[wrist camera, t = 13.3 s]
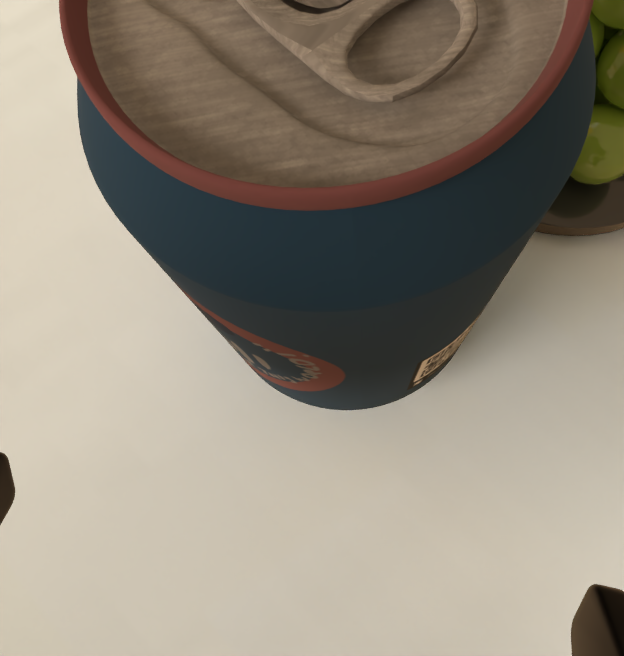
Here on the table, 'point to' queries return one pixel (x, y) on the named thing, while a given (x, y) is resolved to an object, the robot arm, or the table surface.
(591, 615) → the robot arm
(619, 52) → the grapes
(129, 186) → the soda can
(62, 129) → the table surface
